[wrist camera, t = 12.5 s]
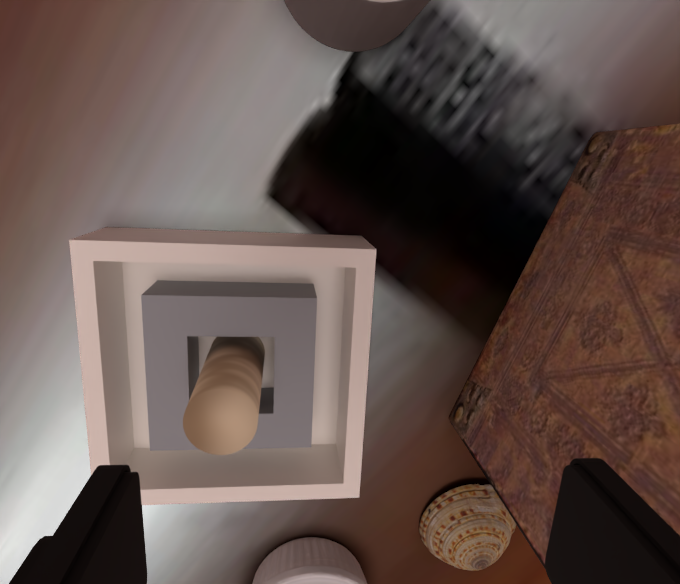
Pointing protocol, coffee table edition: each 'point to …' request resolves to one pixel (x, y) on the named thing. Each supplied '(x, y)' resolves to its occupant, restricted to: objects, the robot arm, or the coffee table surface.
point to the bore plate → (229, 321)
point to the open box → (129, 360)
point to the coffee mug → (354, 21)
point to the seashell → (467, 527)
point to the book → (589, 340)
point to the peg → (226, 396)
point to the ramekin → (310, 564)
